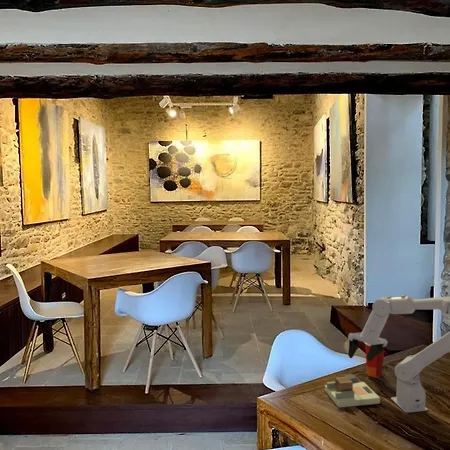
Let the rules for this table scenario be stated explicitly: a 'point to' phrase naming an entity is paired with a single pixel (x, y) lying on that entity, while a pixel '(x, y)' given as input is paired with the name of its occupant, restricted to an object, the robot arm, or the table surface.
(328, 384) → the board
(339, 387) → the walnut block
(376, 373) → the paper cup
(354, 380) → the charcoal block
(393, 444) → the table surface
